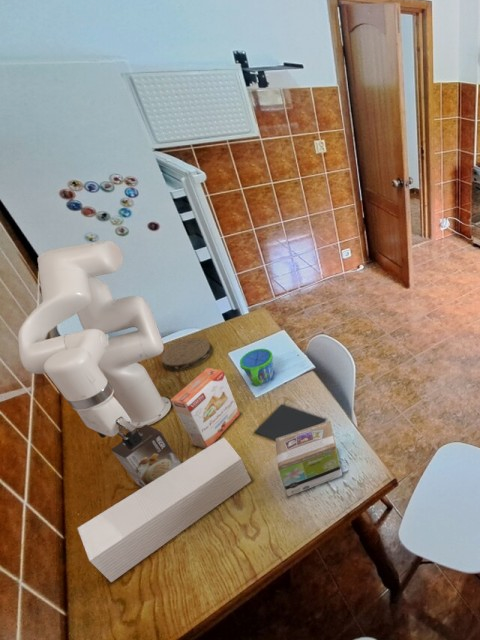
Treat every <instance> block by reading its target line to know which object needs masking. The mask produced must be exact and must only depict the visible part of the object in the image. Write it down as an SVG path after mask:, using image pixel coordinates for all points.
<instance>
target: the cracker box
mask: <svg viewBox="0 0 480 640" xmlns="http://www.w3.org/2000/svg"><path fill="white" fill-rule="evenodd" d="M169 400H170V402H171V406H172V407H173V408H174V410H175V412H176V415H177V416H178V418H179V420H180V422H181V425H182V426H183V428H184V430H185V432H186V434H187V436H188V437H189V440H190V442H191V443H192V445H193V446H194V447H199V448H203V449H206V448H207V447H209V446H211V445H212V444H214V443H215V442H217V441H218V439H219V438H220V437H221V435H222V434H223V433H224V432H225V431H226V430H227V429H228V428H229V427H230V426H231V425H232V424H233V423H234V421H235V420H236V419H237V418H238V417H240V415H241V413H240V410H239V408H238V405H237V403H236V400H235V397H234V395H233V393H232V390H231V387H230V385H229V382H228V380H227V377H226V374H225V371H224V370H222V369H218V368H217V369H216V368H212V367H207V368H205V369H204V370H203V371H202V372H201V373H200V374H198V376H196V377H195V378H194V379H193V380H191V381H190V382H189V383H188V384H187V385H186V386H185V387H183V388H182V389H181V390H180V391H179V392H178V393H176V394H175V395H174V396H173V397H172V398H170V399H169Z"/></svg>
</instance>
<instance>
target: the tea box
mask: <svg viewBox="0 0 480 640" xmlns="http://www.w3.org/2000/svg"><path fill="white" fill-rule="evenodd" d="M333 431H334V430H333V427H332V423H331V420H327V421H324V422H323V423H321V424H318V425H315V426H312V427H309V428H306V429H303V430H300V431H297V432H294V433H291V434H288V435H285V436H282V437H278V438H276V439H275V440H274V441H275V449H276V460H277V461H276V462H277V469H278V472H279V476H280V478H281V481H282V484H283V487H284V490H285V492H286V495H287V496H288V497H290V496H293V495H296V494H298V493H301V492H303V491H306V490H309V489H311V488H313V487H316V486H319V485H322V484H324V483H327V482H330V481H332V480H334V479H337V478H340V477H342V475H343V474H342V468H341V462H340V458H339V453H338V449H337V444H336V439H335V435H334V432H333Z"/></svg>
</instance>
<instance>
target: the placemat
mask: <svg viewBox="0 0 480 640" xmlns="http://www.w3.org/2000/svg"><path fill="white" fill-rule="evenodd" d="M324 422H326V419H325V418H322V417H319V416H317V415H314V414H312V413H308V412H306V411H303V410H302V411H301V410H298V409H296V408H293V407H290V406H287V405H285V404H280V406H278V407H277V409H276V410H274V412H273V413H271V415H269V417H268V418H267V419H266V420H265V421H264V422H263V423H262V424H261V425H260V426H259V427H258V428H257V429H256V430H255V431H254V433H255V434H258V435H261V436H263V437H266V438H269V439H271V440H274V441H276V440H275V439H276V438H278V437H282V436H285V435H288V434H291V433H294V432H297V431H300V430H303V429H306V428H309V427H312V426H315V425H318V424H321V423H324Z"/></svg>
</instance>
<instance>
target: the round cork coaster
mask: <svg viewBox="0 0 480 640" xmlns="http://www.w3.org/2000/svg"><path fill="white" fill-rule="evenodd" d="M211 354H212V347H211V344H210V342H209V341H208V340H207V339H206V338H202V337H192V338H187V339H184V340H180V341H177V342H175V343H174V344H171V345H170V346H169V347H168V348H166V349H165V350H163V352H162V353H161V356H160V359H161V362H162V364H163V366H164V368H165V369H167V370H169V371H175V372H176V371H178V372H179V371H180V372H181V371H185V370H190V369H191V368H195V367H197V366H199V365H200V364H203V362H204V361H206V360H207V359H209V357H210V356H211Z"/></svg>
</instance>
